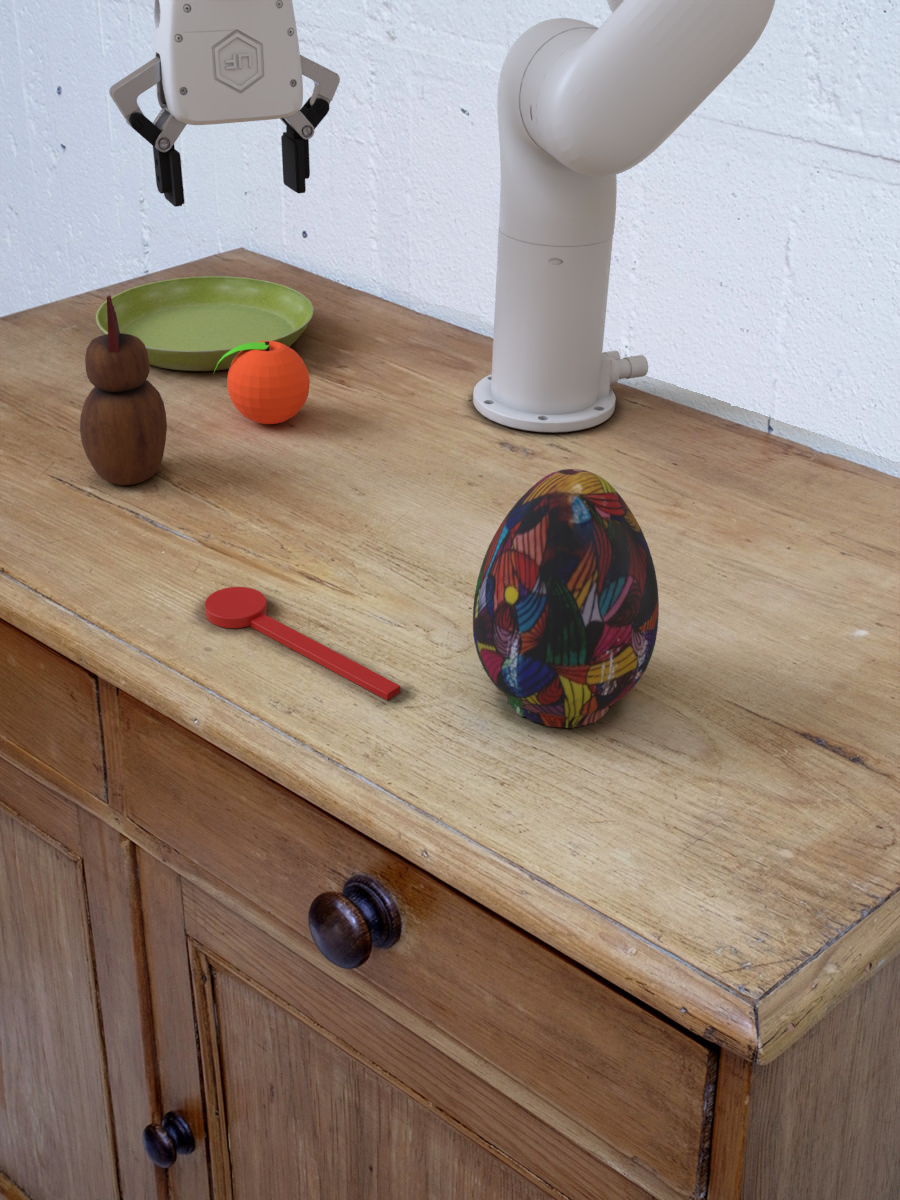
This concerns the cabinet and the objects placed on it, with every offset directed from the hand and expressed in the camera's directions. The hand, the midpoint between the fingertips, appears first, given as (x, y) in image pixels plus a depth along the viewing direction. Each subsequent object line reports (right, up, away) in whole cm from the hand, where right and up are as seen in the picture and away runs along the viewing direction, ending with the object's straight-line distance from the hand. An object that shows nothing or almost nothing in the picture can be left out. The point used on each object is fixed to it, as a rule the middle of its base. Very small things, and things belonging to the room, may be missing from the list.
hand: (235, 195), depth 101 cm
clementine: (+1, -16, +11) cm, 20 cm away
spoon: (+7, -34, -18) cm, 39 cm away
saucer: (-7, -6, +27) cm, 29 cm away
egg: (+23, -37, -22) cm, 49 cm away
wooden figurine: (-9, -22, +2) cm, 23 cm away
